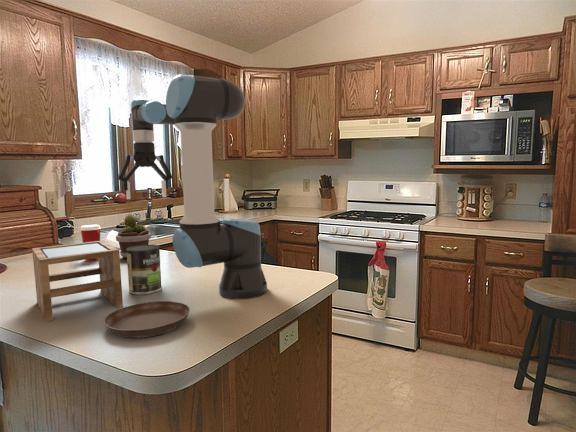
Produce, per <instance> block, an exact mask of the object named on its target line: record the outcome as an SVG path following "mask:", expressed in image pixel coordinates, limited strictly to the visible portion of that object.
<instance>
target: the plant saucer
mask: <svg viewBox="0 0 576 432" xmlns="http://www.w3.org/2000/svg"><path fill="white" fill-rule="evenodd" d="M189 314H190V307H189V306H188V305H187V304H185V303H183V302H177V301H170V300H163V301H162V300H157V301H148V302H140V303H136V304H132V305H131V304H130V305H128V306H124V307H121V308H118V309H116V310H115V311H112V312H110V313H108V314H107V315H106V316H105V317H104V319H103V324H104V326H105V327H106V329H108V331H110V332H112V333H113V334H114V335H117V336H119V337H122V338H128V339H130V338H131V339H140V338H141V339H142V338H143V339H144V338H149V337H155V336H159V335H164V334H166V333H168V332H169V333H170V332H171V331H173V330H175V329H177V328H178V327H179V326H181V324H182V323H184V321H186V319H187V317H188V316H189Z"/></svg>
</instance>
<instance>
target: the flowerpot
mask: <svg viewBox="0 0 576 432" xmlns="http://www.w3.org/2000/svg"><path fill="white" fill-rule="evenodd" d="M137 222H138V221H137V217H136V216H133V214H132V213H131V212H129V214H125V217H124V218H123V221H122V224H123V225H124V229H123V230H121V231H117V232H118V235H116V241H118V242H119V245H120V248H121V249H120V248H119V249H120V250H119V254H120V256H121V257H122V258H123V259H124V260H127V252H126V248H128V247H132V246H138V245H149V243H150V239H152V234H151V232H149V230H147V229H146V227H145V226H144V225H142V224H141V223H137Z"/></svg>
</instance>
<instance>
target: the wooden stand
mask: <svg viewBox="0 0 576 432" xmlns="http://www.w3.org/2000/svg"><path fill="white" fill-rule="evenodd" d="M95 243H98V244H99V245H101V246H102V247H104V248H105V249H107V250H105V251H97V252H89V253H81V254H73V255H65V256H58V257H50V258H47V257H46V256H45V255H44V253H43V252H42V250H43V249H52V248H60V247H69V246H78V245H87V244H95ZM31 250H32V251H31V253H32V260H33V261H32V262H33V270H34V271H33V272H34V281H35V283H34V284H35V291H36V303H37V305H38V307H39V310H40V313H41V315H42V317H43V319H44V322H51V321H53V320H54V316H53V315H54V314H53V304H52V298H57V297H64V296H69V295H76V294H81V293H86V292H87V293H88V292H91V291H97V290H98V291H99V290H100V292H101V293H102V294H103V296H105V297H106V298H107V299H108V300H109V301H110V302H111V304H113V305H114V306H115V308H120V307H123V306H124V302H123V301H124V300H123V286H122V272H121V271H122V269H121V257H120V256H121V254H120V248H117V247H114V246H112V245H110V244H108V243H107V242H106V240H100V241H94V242H85V243H83V242H78V243H69V244H59V245H51V246H43V247H34V248H33V247H32V248H31ZM94 258H98V260H97V261H98V267H92V268H87V269H79V270H73V271H67V272H65V271H64V272H59V273H53V274H50V272H49V271H50V270H49V265H55V264H63V263H64V264H65V263H70V262H71V263H72V262H79V261H85V260H87V259H94ZM95 275H99V281H94V282H87V283H81V284H75V285H70V286H68V285H67V286H63V287H57V288H56V287H55V288H52V289H51V282H52V283H53V282H58V281H65V280H71V279H77V278H83V277H91V276H95Z"/></svg>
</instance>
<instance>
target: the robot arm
mask: <svg viewBox="0 0 576 432" xmlns="http://www.w3.org/2000/svg"><path fill="white" fill-rule="evenodd" d="M130 103H131V105H130V112H131V123H132V127H131V128H132V141H134V143H133V155H130V154H126V155H125V156H124V163H123V165H122V167H121V169H120V171H119V173H118V176H117V180H118V181H122V186H123V187H122V189H123V191H126V200H131V198H132V197H131V182H130V181H128V180H129V179H130V178H131V177H132V175H133V174H134V173H135V172H136V171H137V169H138V168H139V167H140V168H149V167H151V168H152V169H153V170H154V171H155V172H156V173H157V174H158V175H159V177H160V178H161V179H162V180H161V182H160V183H161V196H162V198H167V189H169V180H170V179H173V178H174V177H173V174H172V173H171V171H170V169H169V167H168V165H167V164H166V162H165V157H164V155H163V154H159V155H156V153H155V151H156V150H155V143H154V141H155V133H154V125H172V126H175V127H176V128H177V129H178V130H179V131H180V145H181V147H180V148H181V149H180V150H181V167H182V168H181V169H182V187H183V189H182V191H183V209H184V212H183V213H184V215H183V216H182V218H181V219H180V220H179V227H178V228H176V229H175V230H173V233H172V245H173V250H174V253H175V255H176V258H177V260H178V262H179V263H180V264H181V266H183V267H184V268H188V269H191V268H202V267H205V266H207V267H208V266H213V265H218V264H223V271H222V274H221V278H220V283H219V286H218V290H219V295H220V296H221V297H222V296H223V297H225V298H229V299H238V300H239V299H253V298H256V297H259V296H263V295H265V294H266V293H267V292H268V282H267V279H266V277H265V274H264V271H263V268H262V247H261V246H262V245H261V241H262V240H261V237H262V233H261V226H260V224H259V222H258V221H256V220H251V219H244V218H223V219H222V220H221V219H220V218H219V217H218V216H217V215H216V214H215V192H214V190H215V189H214V170H213V169H214V164H213V163H214V162H213V160H214V159H213V140H212V139H213V138H212V137H213V135H212V134H213V130H214V129H215V128H216V127H217V121H229V120H233V119H236V118H238V117H239V116H240V115H241V114H242V113H243V111H244V110H245V106H246V98H245V95H244V92H243V90H242V89H241V88H240V87H239V86H238V85H237V84H236V83H234V82H233V81H231V80H229V79H226V78H216V77H208V76H202V75H196V74H195V75H194V74H178V75H176V76H174V77H173V78H172V79H171V81H170V82H169V85H168V88H167V92H166V98H165V103H164V102H160V101H158V100H148V99H143V98H142V99H133V100H131V102H130ZM132 160H133V161H134V164H133V165H132V167H131V168H130V169H129V170H128V172H127V169H128V167H129V165H130V162H132ZM156 160H157V162H159V164H160V166H161V168H162V169H161V168H160V167H159V166H158V164H157V163H155V161H156ZM162 170H163V171H162Z"/></svg>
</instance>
